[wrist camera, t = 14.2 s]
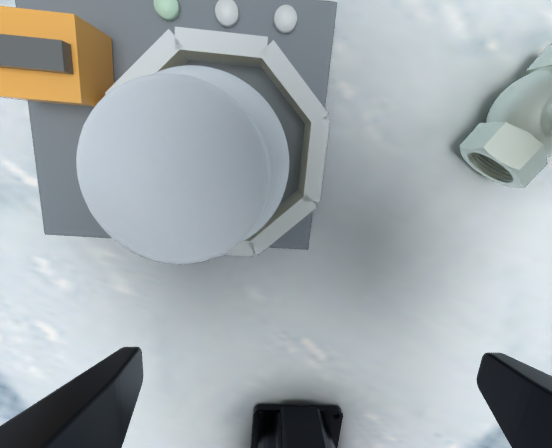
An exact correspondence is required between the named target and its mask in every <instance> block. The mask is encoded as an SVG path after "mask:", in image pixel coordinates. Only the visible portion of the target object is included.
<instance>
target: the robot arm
mask: <svg viewBox="0 0 552 448" xmlns="http://www.w3.org/2000/svg"><path fill="white" fill-rule="evenodd" d="M142 382H143V363H142V351H141V349H140V348H139V347H123V348H121V349H119V350H118V351H116V352H115V353H113V354H112V355H110V356H108V357H107V358H105V359H104V360H102V361H101V362H99V363H98V364H96V365H94V366H93V367H91V368H90V369H88V370H87V371H85V372H84V373H82V374H80V375H79V376H77V377H76V378H74V379H73V380H71V381H70V382H68V383H66V384H65V385H63V386H62V387H60V388H59V389H57V390H56V391H54V392H52V393H51V394H49V395H48V396H46V397H45V398H43V399H42V400H40V401H38V402H37V403H35V404H34V405H32V406H31V407H29V408H28V409H26V410H24V411H23V412H21V413H20V414H18V415H17V416H15V417H14V418H12V419H10V420H9V421H7V422H6V423H4V424H3V425H1V426H0V448H121V447H122V444H123V442H124V439H125V436H126V432H127V429H128V426H129V423H130V420H131V417H132V414H133V411H134V408H135V405H136V401H137V398H138V395H139V392H140V389H141V386H142ZM477 385H478V388H479V390H480V391H481V393H482V395H483V397H484V399H485V400H486V402H487V404H488V406H489V408H490V409H491V411H492V413H493V415H494V417H495V418H496V420H497V422H498V424H499V425H500V427H501V429H502V431H503V433H504V434H505V436H506V438H507V440H508V441H509V443H510V445H511V447H512V448H552V376H550V375H548V374H546V373H544V372H541V371H539V370H537V369H535V368H533V367H531V366H529V365H526V364H524V363H522V362H520V361H518V360H516V359H514V358H511V357H509V356H507V355H505V354H502V353H485V354H484V355H483V357H482V360H481V364H480V367H479V371H478V375H477ZM259 412H262V413H259ZM342 418H343V414H342V410H341V409H340V408H339V407H337V406H296V405H257V406H256V407H255V408H254V410H253V422H252V435H251V448H337V446H338V441H339V435H340V430H341V424H342Z"/></svg>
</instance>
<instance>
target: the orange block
mask: <svg viewBox="0 0 552 448" xmlns="http://www.w3.org/2000/svg"><path fill="white" fill-rule="evenodd" d="M113 84H114V75H113V57H112V39H111V37H109V36H108V35H106V34H105V33H103V32H102V31H100V30H98V29H97V28H95V27H94V26H92V25H91V24H89V23H87V22H86V21H84V20H83V19H81V18H80V17H78V16H76V15H75V14H70V13H60V12H51V11H42V10H33V9H24V8H15V7H5V6H0V97H4V98H11V99H19V100H26V101H34V102H44V103H56V104H67V105H78V106H90V107H95V106H96V105H97V103H98V102H99V101H100V100H101V99H102V98H103V97H104V96H105V95H106V94H105V92H106V91H107V90H108V89H109V88H110V87H111V86H112V85H113Z"/></svg>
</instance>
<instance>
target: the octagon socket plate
mask: <svg viewBox="0 0 552 448" xmlns="http://www.w3.org/2000/svg"><path fill="white" fill-rule="evenodd" d="M15 4H16V8H24V9H33V10H42V11H51V12H60V13H70V14H75V15H76V16H78V17H80V18H81V19H83V20H84V21H86V22H87V23H89V24H91V25H92V26H94V27H95V28H97V29H98V30H100V31H102V32H103V33H105V34H106V35H108V36H109V37H111V39H112V57H113V75H114V84H113V85H112V86H111V87H110V88H109V89H108V90H107V91H106V92H105V94H108V93H109V92H110V91H112V90H113V89H114V88H116V87H118V86H119V85H121V84H123V83H125V82H127V81H129V80H132V79H134V78H138V77H141V76H145V75H151V74H153V73H156V72H158V71H161V70H164V69H167V68H171V67H176V66H185V65H197V66H206V67H211V68H215V69H219V70H222V71H225V72H227V73H230V74H232V75H234V76H236V77H238V78H240V79H241V80H243V81H244V82H246V83H247V84H249V85H250V86H251V87H253V88H254V89H255V90H256V91H257V92H258V93H259V94H260V95H261V96H262V97H263V98H264V99H265V100H266V101H267V102H268V104H269V105H270V106H271V108H272V109H273V111H274V112H275V114H276V116H277V117H278V119H279V121H280V123H281V126H282V128H283V130H284V133H285V137H286V140H287V145H288V151H289V174H288V180H287V184H286V188H285V191H284V194H283V197H282V199H281V202H280V204H279V206H278V208H277V209H276V211H275V212H274V214H273V215H272V217H271V218H270V219H269V221H268V222H267V223H266V224H265V225H264V226H263V227H262V228H261V229H260V230H259V231H257V232H256V233H255V234H253V235H252V236H251V237H249V238H248V239H246V240H244V241H242V242H240V243H239V244H238V245H237V246H235V247H234V248H232V249H231V250H229V251H228V252H226V253H224V254H222V255H228V256H246V257H253V252H254V251H255V253H256V254H257V255H259V254H260V253H262V252H263V251H264V250H265V249H266V248H268V247H271V248H289V249H306V250H308V246H309V238H310V229H311V221H312V212H313V210H314V209H315V208H316V207H317V206H316V205H315V203H314V202H320V197H321V189H322V181H323V173H324V165H325V157H326V148H327V140H328V132H329V124H330V119H324V117H325V116H326V115H328V112H327V111H326V110H325V102H326V93H327V85H328V76H329V68H330V59H331V51H332V42H333V34H334V25H335V17H336V8H337V2H331V1H323V0H15ZM28 106H29V114H30V122H31V130H32V138H33V146H34V154H35V162H36V170H37V177H38V185H39V193H40V201H41V209H42V217H43V225H44V233H45V234H47V235H64V236H81V237H99V238H112V237H110V236H109V235H108V234H107V233H106V232H105V231H104V229H103V228H102V227H101V226H100V225H99V223H98V222H97V221H96V219H95V218H94V217H93V215H92V214H91V212H90V210H89V208H88V206H87V204H86V202H85V200H84V197H83V195H82V192H81V189H80V185H79V181H78V176H77V168H76V155H77V147H78V142H79V137H80V134H81V131H82V128H83V125H84V123H85V122H86V120H87V118H88V116H89V115H90V113H91V111H92V110H93V109H94V107H90V106H78V105H67V104H56V103H44V102H34V101H28Z"/></svg>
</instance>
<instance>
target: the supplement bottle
mask: <svg viewBox="0 0 552 448" xmlns="http://www.w3.org/2000/svg"><path fill="white" fill-rule="evenodd" d="M76 168H77V176H78V181H79V185H80V189H81V192H82V195H83V197H84V200H85V202H86V204H87V206H88V208H89V210H90V212H91V214H92V215H93V217H94V218H95V219H96V221H97V222H98V223H99V225H100V226H101V227H102V228H103V229H104V231H105V232H106V233H107V234H108V235H109V236H110V237H112V238H113V239H114V240H115V241H117V242H118V243H119V244H121V245H122V246H123V247H125V248H127V249H128V250H130V251H132V252H134V253H136V254H138V255H140V256H142V257H145V258H148V259H151V260H154V261H158V262H162V263H169V264H191V263H198V262H203V261H207V260H210V259H213V258H216V257H218V256H220V255H222V254H224V253H226V252H228V251H229V250H231V249H232V248H234V247H235V246H237V245H238V244H239V243H240V242H242V241H244V240H246V239H248V238H249V237H251V236H252V235H253V234H255V233H256V232H257V231H259V230H260V229H261V228H262V227H263V226H264V225H265V224H266V223H267V222H268V221H269V219H270V218H271V217H272V215H273V214H274V212H275V211H276V209H277V208H278V206H279V204H280V202H281V199H282V197H283V194H284V191H285V188H286V184H287V180H288V174H289V151H288V145H287V140H286V137H285V133H284V130H283V128H282V126H281V123H280V121H279V119H278V117H277V116H276V114H275V112H274V111H273V109H272V108H271V106H270V105H269V104H268V102H267V101H266V100H265V99H264V98H263V97H262V96H261V95H260V94H259V93H258V92H257V91H256V90H255V89H254V88H253V87H251V86H250V85H249V84H247V83H246V82H244V81H243V80H241V79H240V78H238V77H236V76H234V75H232V74H230V73H227V72H225V71H222V70H219V69H215V68H211V67H206V66H197V65H185V66H176V67H171V68H167V69H164V70H161V71H158V72H156V73H153V74H151V75H145V76H141V77H138V78H134V79H132V80H129V81H127V82H125V83H123V84H121V85H119V86H118V87H116V88H114V89H113V90H112V91H110V92H109V93H108V94H106V95H105V96H104V97H103V98H102V99H101V100H100V101H99V102H98V103H97V105H96V106H95V107H94V109H93V110H92V111H91V113H90V115H89V116H88V118H87V120H86V122H85V123H84V125H83V128H82V131H81V134H80V137H79V142H78V147H77V155H76Z"/></svg>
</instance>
